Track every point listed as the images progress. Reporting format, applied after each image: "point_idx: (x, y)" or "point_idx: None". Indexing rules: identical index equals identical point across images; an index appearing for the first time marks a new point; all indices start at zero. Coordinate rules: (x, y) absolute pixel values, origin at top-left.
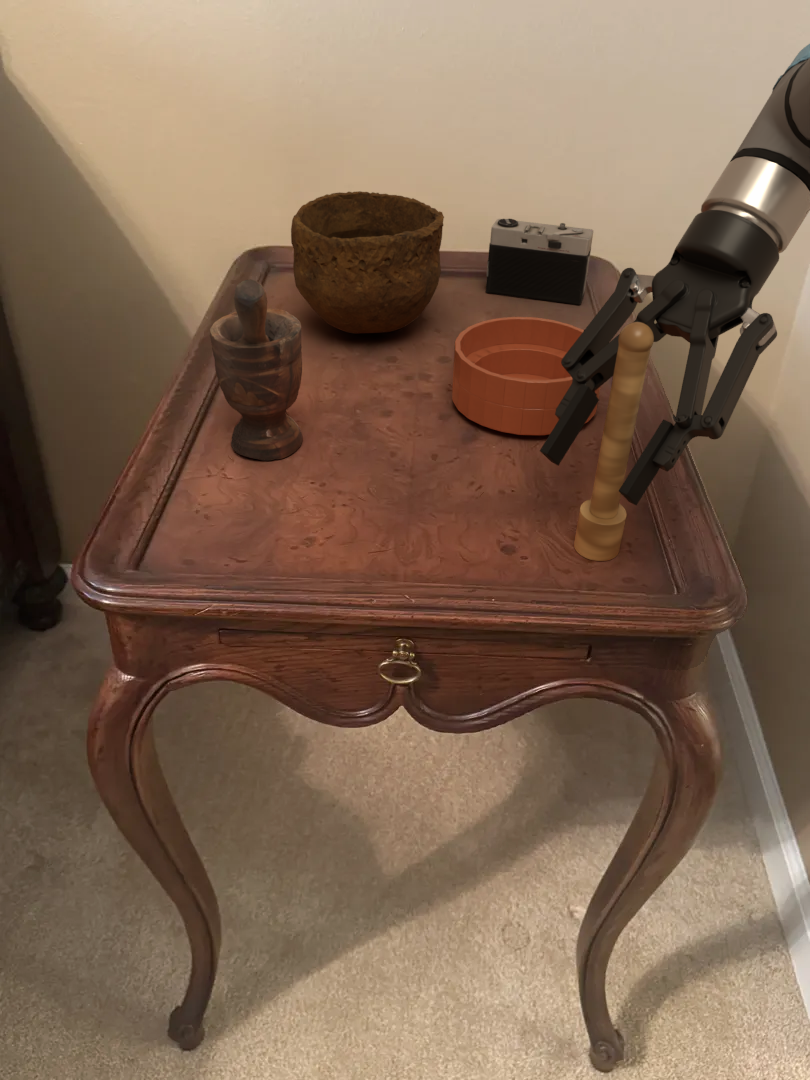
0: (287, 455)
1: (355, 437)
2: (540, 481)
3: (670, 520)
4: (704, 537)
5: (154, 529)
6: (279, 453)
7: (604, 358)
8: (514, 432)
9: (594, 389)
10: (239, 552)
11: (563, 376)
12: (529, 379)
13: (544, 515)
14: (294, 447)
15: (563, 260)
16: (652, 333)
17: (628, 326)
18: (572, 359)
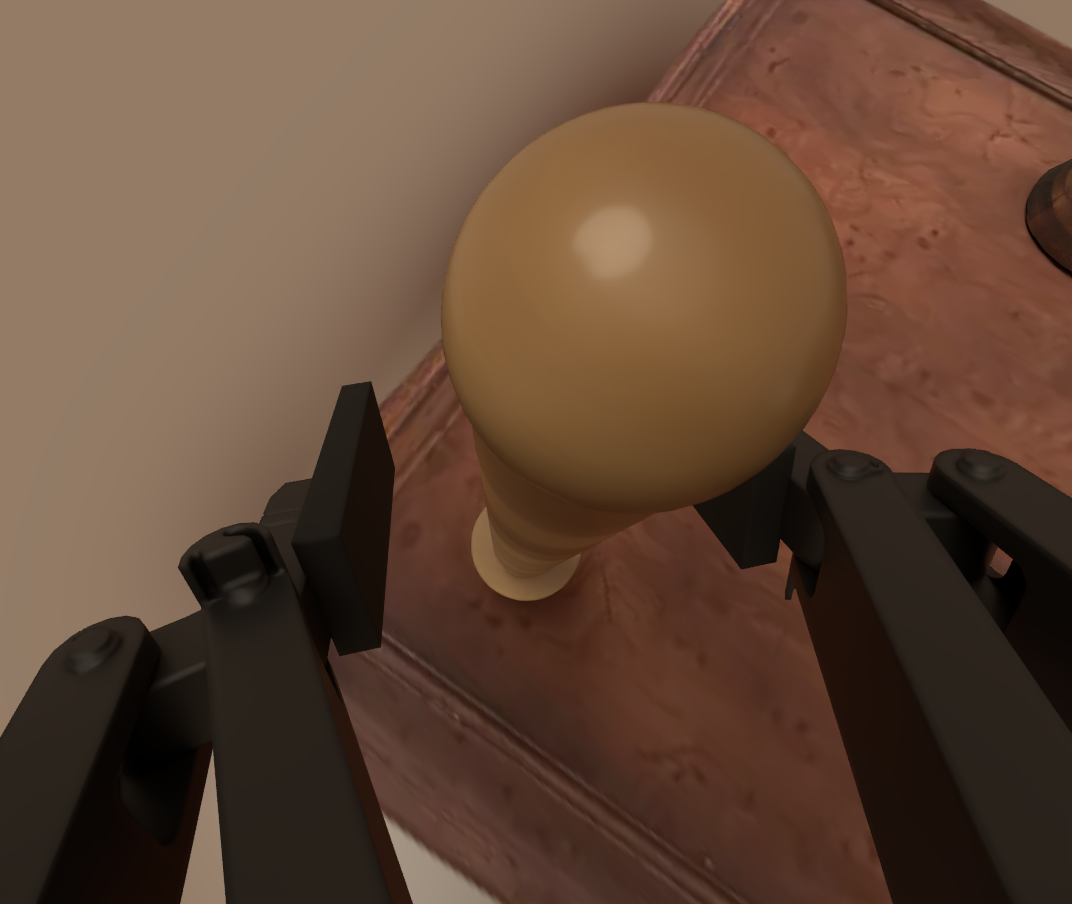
0: (1033, 231)
1: (1066, 370)
2: (775, 610)
3: (510, 782)
4: (417, 807)
5: (893, 13)
6: (1039, 212)
7: (880, 560)
8: None
9: (793, 565)
10: (793, 72)
11: None
12: None
13: (663, 532)
14: (1053, 244)
15: None
16: (513, 388)
17: (745, 131)
18: (977, 480)
